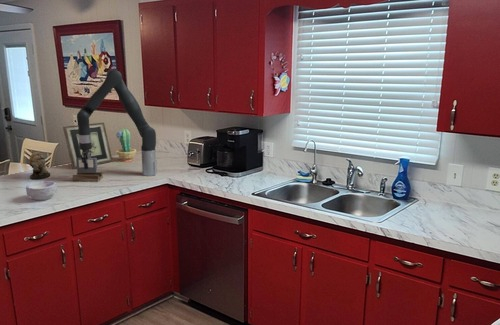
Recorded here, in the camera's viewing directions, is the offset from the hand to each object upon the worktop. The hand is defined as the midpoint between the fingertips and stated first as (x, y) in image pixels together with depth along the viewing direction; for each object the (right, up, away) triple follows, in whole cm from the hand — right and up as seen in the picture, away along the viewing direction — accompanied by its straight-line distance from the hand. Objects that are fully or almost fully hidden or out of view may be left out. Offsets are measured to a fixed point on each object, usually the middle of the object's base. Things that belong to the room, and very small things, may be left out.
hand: (87, 167), depth 267 cm
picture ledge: (0, -8, +2) cm, 8 cm away
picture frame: (-15, +2, +44) cm, 47 cm away
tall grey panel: (0, -3, +1) cm, 3 cm away
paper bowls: (-10, -17, -37) cm, 42 cm away
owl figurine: (-34, -6, +8) cm, 36 cm away
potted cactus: (+8, +5, +59) cm, 60 cm away
